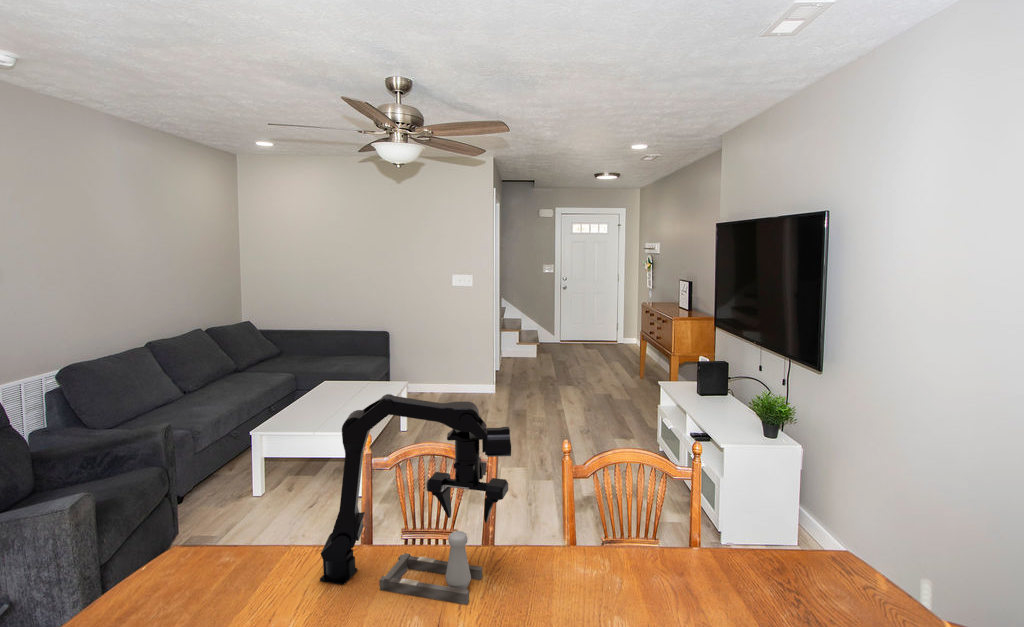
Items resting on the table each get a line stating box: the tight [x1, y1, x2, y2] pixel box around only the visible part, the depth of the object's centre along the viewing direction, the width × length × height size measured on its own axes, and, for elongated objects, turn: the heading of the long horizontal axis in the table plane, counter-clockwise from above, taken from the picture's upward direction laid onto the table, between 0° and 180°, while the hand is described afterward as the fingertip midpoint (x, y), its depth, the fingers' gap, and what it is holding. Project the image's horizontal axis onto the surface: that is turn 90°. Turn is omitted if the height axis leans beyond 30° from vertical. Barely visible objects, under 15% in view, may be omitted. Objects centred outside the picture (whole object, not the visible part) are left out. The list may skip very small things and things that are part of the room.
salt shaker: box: [445, 530, 472, 590], centre depth 130 cm, size 6×6×13 cm
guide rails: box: [378, 552, 483, 605], centre depth 133 cm, size 21×11×3 cm, turn 75°
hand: (467, 519), depth 136 cm, fingers open, 9 cm apart
